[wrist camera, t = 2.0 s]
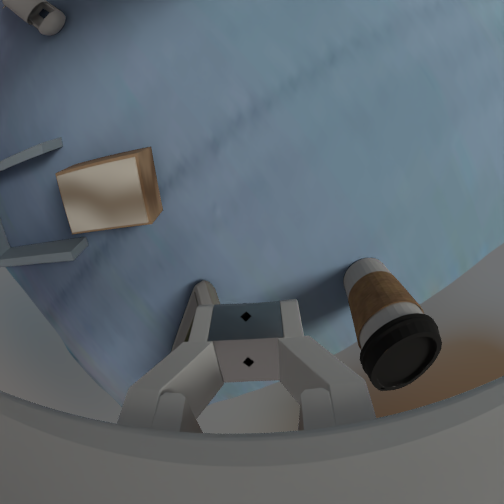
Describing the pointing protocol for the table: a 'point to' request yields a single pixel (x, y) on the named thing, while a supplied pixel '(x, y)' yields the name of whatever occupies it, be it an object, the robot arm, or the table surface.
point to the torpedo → (28, 8)
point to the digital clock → (200, 296)
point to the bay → (39, 252)
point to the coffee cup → (389, 326)
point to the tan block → (111, 192)
